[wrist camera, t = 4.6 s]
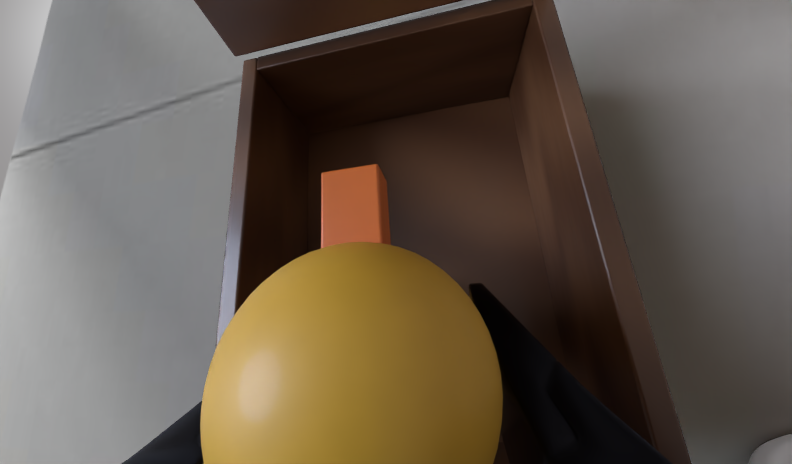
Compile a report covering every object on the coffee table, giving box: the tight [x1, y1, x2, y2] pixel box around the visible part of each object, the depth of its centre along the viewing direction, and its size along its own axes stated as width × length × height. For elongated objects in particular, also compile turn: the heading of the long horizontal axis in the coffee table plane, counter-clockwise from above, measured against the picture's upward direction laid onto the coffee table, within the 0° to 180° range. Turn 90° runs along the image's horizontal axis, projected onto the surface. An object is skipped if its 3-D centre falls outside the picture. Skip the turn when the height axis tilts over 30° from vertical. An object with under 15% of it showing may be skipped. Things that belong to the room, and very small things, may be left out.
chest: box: [216, 0, 692, 464], centre depth 13 cm, size 20×15×6 cm
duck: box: [200, 164, 503, 464], centre depth 9 cm, size 6×5×12 cm
